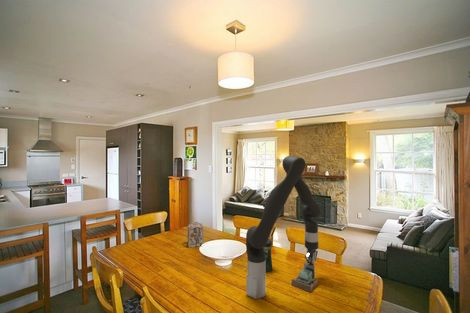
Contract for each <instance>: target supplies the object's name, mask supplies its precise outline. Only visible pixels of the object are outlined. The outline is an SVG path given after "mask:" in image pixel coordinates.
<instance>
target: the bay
mask: <svg viewBox="0 0 470 313" xmlns="http://www.w3.org/2000/svg"><path fill="white" fill-rule="evenodd" d="M298 279H299V275H297V276H296V277H295V278H292V279H291V286H293V287H295V288H298V289H300V290H302V291H305V292H309V293H312V291H314V289H315V288H316V287H317V286H318V285H319V280H318V279H315V280H314V282H313V283H311V284H310V285H308V284H305V283H302V282H300V281H297V280H298Z"/></svg>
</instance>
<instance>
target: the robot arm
mask: <svg viewBox="0 0 470 313" xmlns="http://www.w3.org/2000/svg"><path fill="white" fill-rule="evenodd" d="M281 165H282V169H283V170H284V172H285V174H286V176H285V178H284V179H283V180H282V181H281V182H280V183H279V184H277V185H275V187H273V188H272V189H271V191H270V193H269V194H268V197H267V198H266V200H265V203H264V205H263V206H264V207H263V212H262V216H261V219H260V221H259V223H258V225H257V226H256V225H253V226H251V227H249V228H248V229H247V231H246V234H245V244H246V245H245V246H246V248H245V249H246V250H245V251H246V256H247V270H246V271H247V275H246V278H245V280H246V281H245V282H246V291H245V292H246V293H245V294H246V296H249V297H251V298H252V299H253V300H254V299H255V300H258V299H262V298H264V297H265V296H266V294H267V292H266V289H267V288H266V287H267V286H266V280H267V279H266V275H267V274H266V273H267V271H266V255H265V252H264V248H263V247H264V246H265V245H266V243H267V241H268V239H269V238H270V237H271V236H270V235H271V233H272V231H273V228H274V226H275V223H276V222H277V220H278V218H279V216H280V214H281V212H282V211H283V208H284V207H285V205H286V203H287V201H288V199H289V196H291V193H292V190H293V189H294V188H295V191H296V193H297V195H298V198H299V200H300V202H301V204H302V205H303V206H302V208H301V213H302V217H303V221H304V248H305V249H306V255H304V259H305V261H306V263H308V264H311V265H314V266H315V262H316V261H317V256H318V253H319V252H318V250H319V223H318V222H317V221H315V220H314V219H316V218H317V219H318V218H320V217H321V215H322V210H321V207H320V204H318V202H317V201H316V199H315V198H314V196H313V194H312V192H311V189H310V187H309V186H308V185H307V183H306V181H305V180H303V179H304V178H302V177H301V176H302V174H303V173H304V171H305V169H306V161H305V159H304V158H302V157H299V156H295V155H287V156H285V157H284V158H283V160H282V164H281Z"/></svg>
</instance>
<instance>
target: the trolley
mask: <svg viewBox="0 0 470 313" xmlns="http://www.w3.org/2000/svg"><path fill="white" fill-rule="evenodd" d="M315 267H316V266H315V264H314V265H311V264H309V263H307V262H303V268H302V269H301V270H300V271H299V272H298V276H299V279H298V280H297V281H300V282H302V283H305V284H308V285H310V284H311V283H313V282H314V281H315V280H316V279H315V278H316V268H315Z"/></svg>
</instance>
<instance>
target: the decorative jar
mask: <svg viewBox="0 0 470 313" xmlns="http://www.w3.org/2000/svg"><path fill="white" fill-rule="evenodd" d="M204 230H205V229H204V225H203V224H202V223H200V222H199V221H192V222H191V223H189V224H188V225H187V236H186V237H187V246H188V248H189V247H192V248H196V247H195V246H200V245H202V244H203V243H204V242H205V238H204V237H205V233H204V232H205V231H204Z"/></svg>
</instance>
